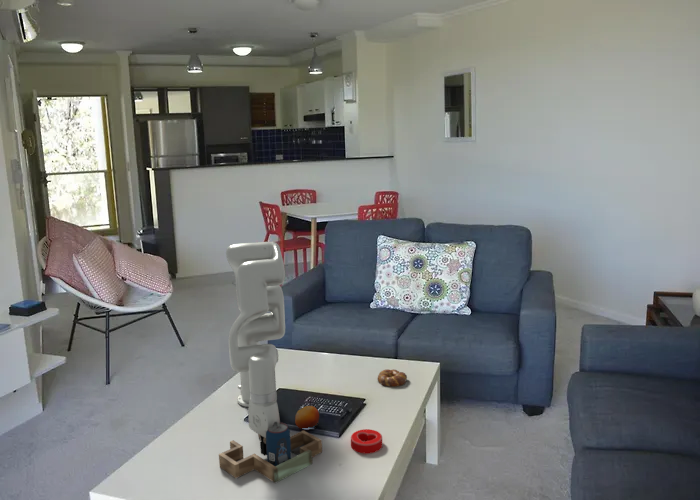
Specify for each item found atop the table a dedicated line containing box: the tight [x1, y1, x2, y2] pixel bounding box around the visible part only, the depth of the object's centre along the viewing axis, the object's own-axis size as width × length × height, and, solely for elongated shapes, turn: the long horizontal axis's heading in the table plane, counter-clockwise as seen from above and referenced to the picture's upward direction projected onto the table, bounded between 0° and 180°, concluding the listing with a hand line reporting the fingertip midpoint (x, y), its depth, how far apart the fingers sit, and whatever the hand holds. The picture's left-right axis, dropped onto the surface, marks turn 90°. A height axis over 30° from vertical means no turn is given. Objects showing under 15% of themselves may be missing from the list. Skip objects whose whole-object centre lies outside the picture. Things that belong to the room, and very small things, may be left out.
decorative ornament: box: [350, 428, 383, 455], centre depth 189 cm, size 10×10×3 cm
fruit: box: [294, 405, 320, 430], centre depth 200 cm, size 8×8×8 cm
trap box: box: [218, 430, 323, 484], centre depth 182 cm, size 22×26×4 cm
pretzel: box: [377, 369, 408, 388], centre depth 234 cm, size 12×11×4 cm
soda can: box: [266, 421, 292, 466], centre depth 178 cm, size 7×7×12 cm
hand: (266, 452), depth 183 cm, fingers closed
